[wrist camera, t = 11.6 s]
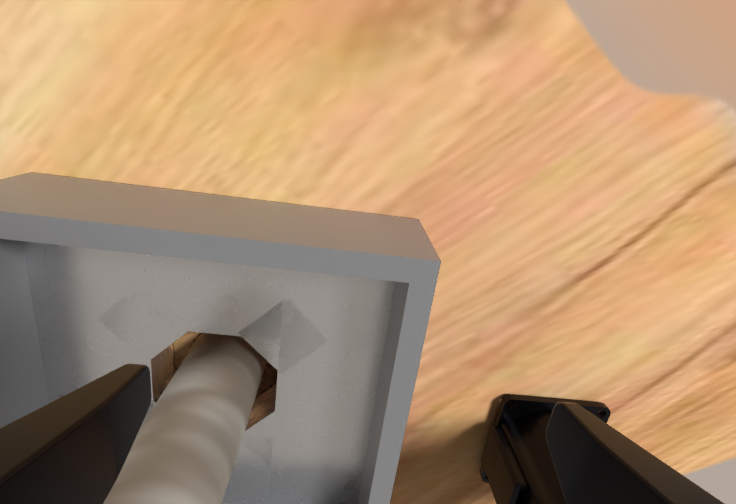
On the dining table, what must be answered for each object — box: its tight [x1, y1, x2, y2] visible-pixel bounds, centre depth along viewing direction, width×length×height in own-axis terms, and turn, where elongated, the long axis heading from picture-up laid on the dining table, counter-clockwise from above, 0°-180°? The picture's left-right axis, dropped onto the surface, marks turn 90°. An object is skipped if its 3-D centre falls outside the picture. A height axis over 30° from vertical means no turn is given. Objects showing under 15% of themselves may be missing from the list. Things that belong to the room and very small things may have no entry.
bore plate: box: [22, 241, 396, 504], centre depth 21 cm, size 16×16×2 cm
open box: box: [0, 172, 441, 504], centre depth 20 cm, size 18×18×6 cm
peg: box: [103, 333, 267, 504], centre depth 18 cm, size 4×4×10 cm
